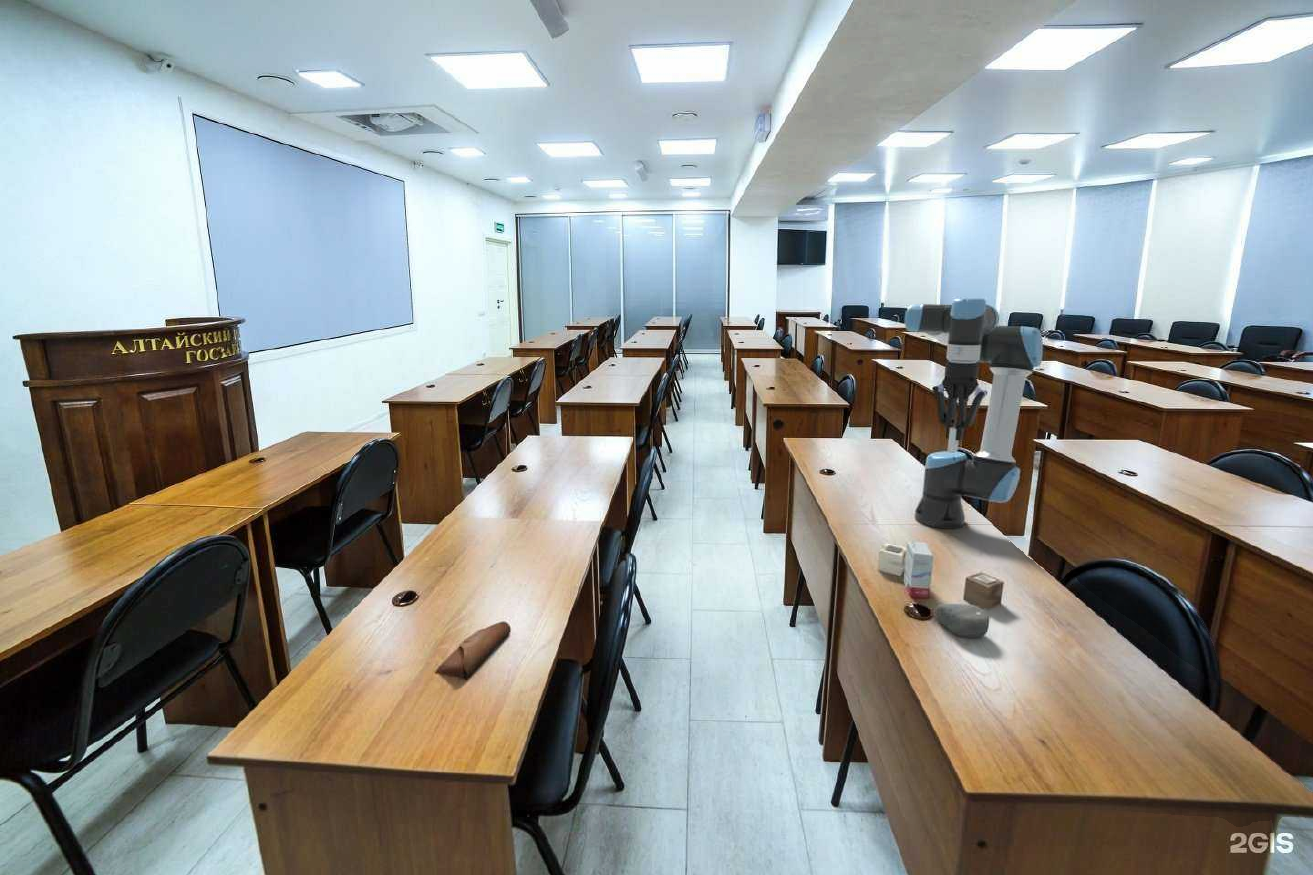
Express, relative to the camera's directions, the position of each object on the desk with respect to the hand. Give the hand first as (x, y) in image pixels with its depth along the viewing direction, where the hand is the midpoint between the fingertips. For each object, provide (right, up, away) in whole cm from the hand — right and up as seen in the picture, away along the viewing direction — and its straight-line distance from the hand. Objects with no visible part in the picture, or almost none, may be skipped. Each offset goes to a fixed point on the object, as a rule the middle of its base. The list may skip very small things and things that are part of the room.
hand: (952, 451), depth 160 cm
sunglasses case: (-117, -44, -26) cm, 128 cm away
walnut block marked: (+4, -37, -7) cm, 38 cm away
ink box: (-10, -36, -1) cm, 37 cm away
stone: (-7, -41, -19) cm, 45 cm away
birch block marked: (-12, -33, +11) cm, 37 cm away
